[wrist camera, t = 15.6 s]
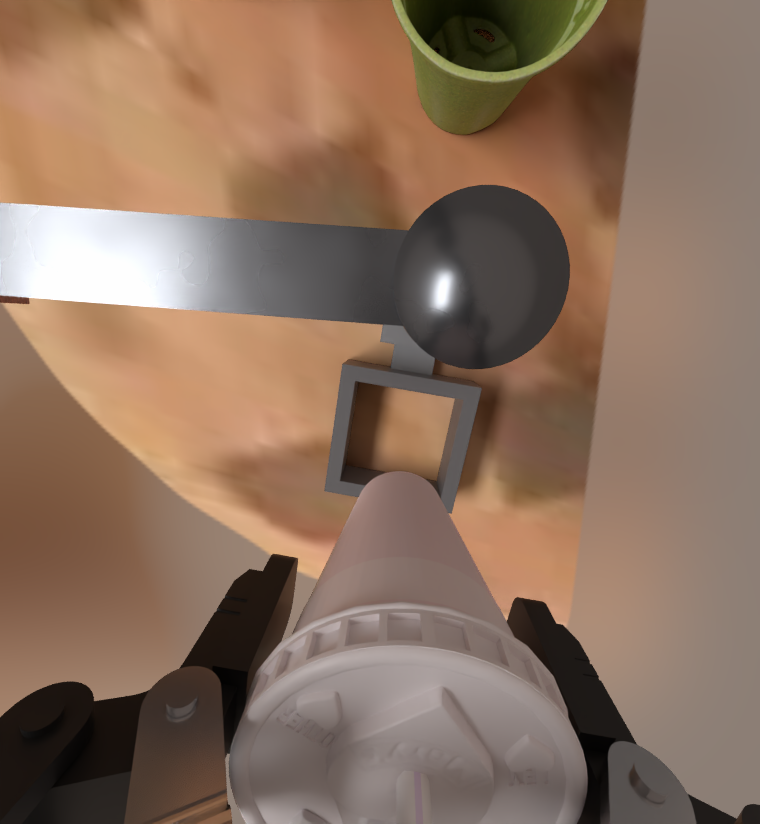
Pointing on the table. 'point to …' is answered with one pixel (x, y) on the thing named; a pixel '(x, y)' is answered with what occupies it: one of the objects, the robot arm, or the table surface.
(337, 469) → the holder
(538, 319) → the joystick lever
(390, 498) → the smoothie
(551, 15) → the plant pot
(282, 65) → the table surface
